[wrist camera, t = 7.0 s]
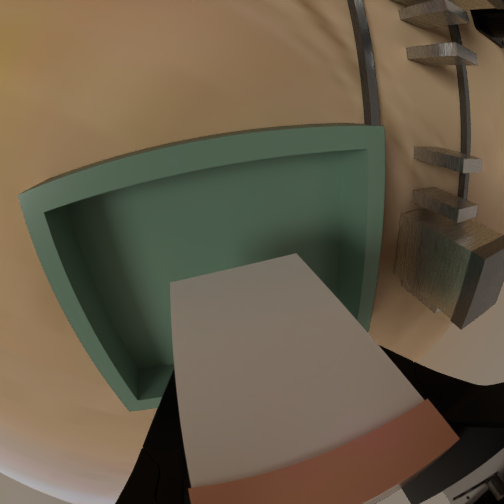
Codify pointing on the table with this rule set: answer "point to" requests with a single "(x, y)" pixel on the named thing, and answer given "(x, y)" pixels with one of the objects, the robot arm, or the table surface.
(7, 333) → the table surface
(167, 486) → the robot arm
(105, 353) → the tray
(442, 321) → the table surface
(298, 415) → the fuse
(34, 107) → the table surface
